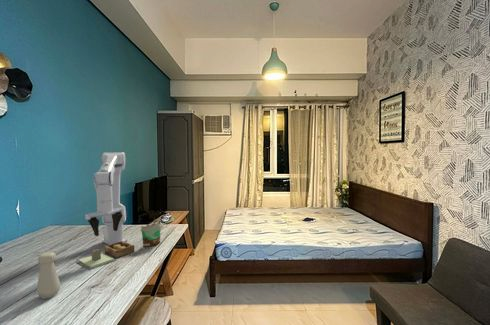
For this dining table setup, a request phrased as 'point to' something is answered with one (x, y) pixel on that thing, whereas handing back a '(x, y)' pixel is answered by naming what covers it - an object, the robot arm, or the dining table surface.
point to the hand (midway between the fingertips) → (106, 232)
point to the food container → (151, 234)
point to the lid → (96, 259)
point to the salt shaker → (47, 276)
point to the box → (119, 249)
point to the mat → (95, 266)
